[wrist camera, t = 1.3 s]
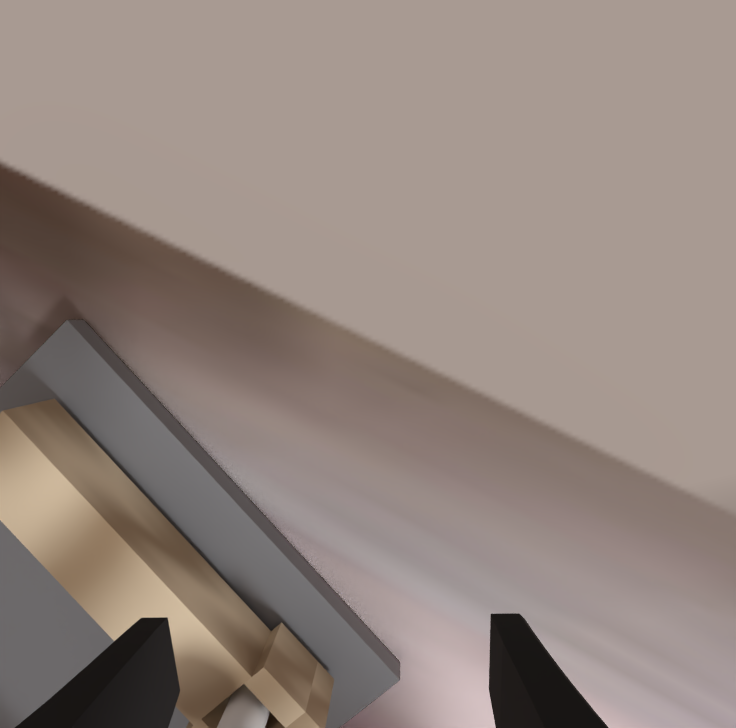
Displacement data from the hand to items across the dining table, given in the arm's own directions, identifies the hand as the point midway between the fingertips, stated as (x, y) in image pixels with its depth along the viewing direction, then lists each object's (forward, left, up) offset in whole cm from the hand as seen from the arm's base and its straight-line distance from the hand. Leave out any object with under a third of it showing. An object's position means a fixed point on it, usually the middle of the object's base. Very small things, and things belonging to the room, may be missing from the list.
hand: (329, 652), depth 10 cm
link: (-8, +3, -8) cm, 12 cm away
